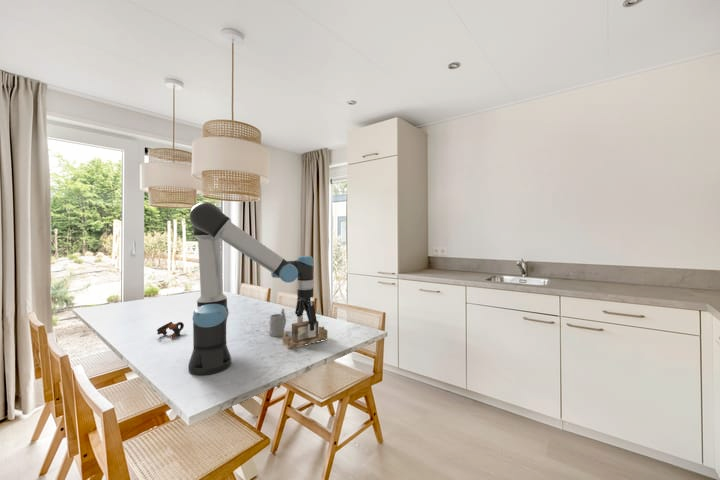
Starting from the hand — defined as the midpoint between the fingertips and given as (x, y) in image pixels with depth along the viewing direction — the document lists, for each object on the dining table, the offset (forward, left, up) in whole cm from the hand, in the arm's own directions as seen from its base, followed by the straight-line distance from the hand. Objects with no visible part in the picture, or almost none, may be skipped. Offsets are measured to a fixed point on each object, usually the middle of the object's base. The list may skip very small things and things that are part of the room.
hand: (305, 333), depth 148 cm
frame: (0, 0, -3) cm, 3 cm away
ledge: (0, 0, -4) cm, 4 cm away
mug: (-6, +20, -5) cm, 21 cm away
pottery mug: (-53, +46, -5) cm, 70 cm away
